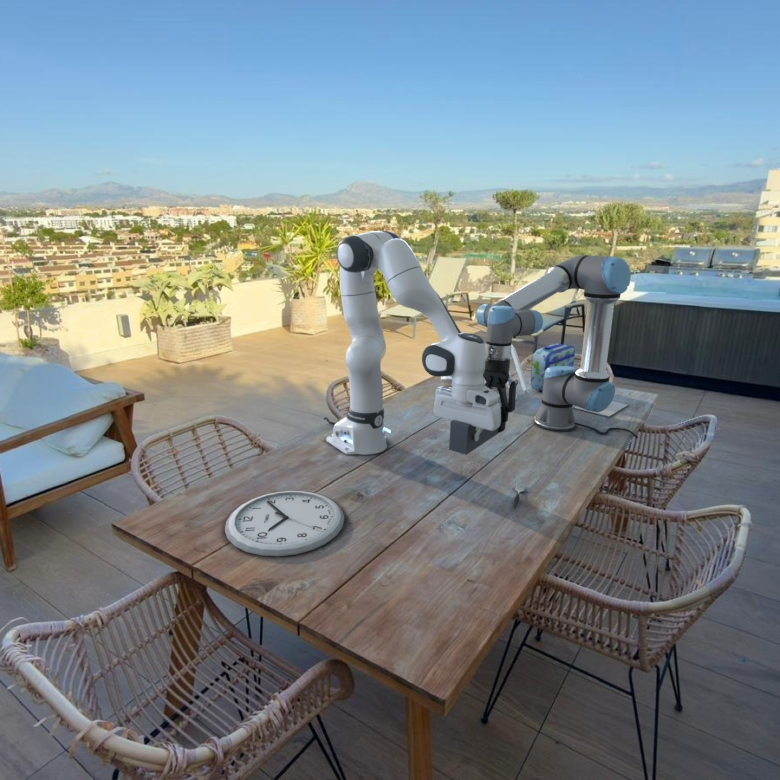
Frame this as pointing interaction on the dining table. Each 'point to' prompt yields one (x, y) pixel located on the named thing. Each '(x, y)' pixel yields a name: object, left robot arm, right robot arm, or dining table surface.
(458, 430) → the bar
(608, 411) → the invitation card
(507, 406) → the right robot arm
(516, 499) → the fork
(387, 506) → the dining table surface
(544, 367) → the lunch box
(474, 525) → the dining table surface
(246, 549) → the wall clock
